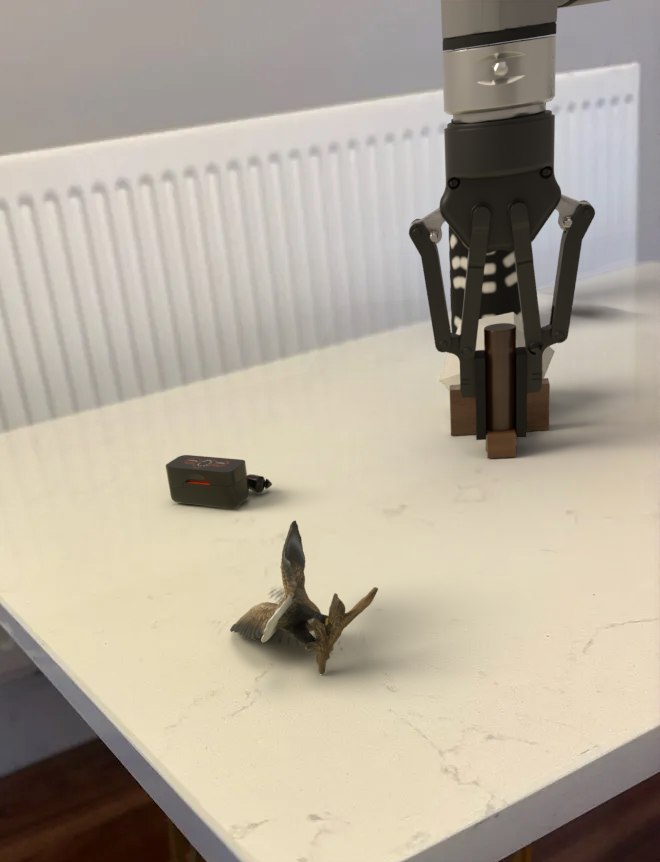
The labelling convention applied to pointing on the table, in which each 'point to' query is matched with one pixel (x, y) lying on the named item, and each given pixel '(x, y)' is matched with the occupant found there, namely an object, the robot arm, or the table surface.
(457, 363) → the die
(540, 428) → the wooden block stack
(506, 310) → the spotted tube
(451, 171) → the robot arm
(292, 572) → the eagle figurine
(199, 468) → the wireless earbuds
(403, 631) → the table surface
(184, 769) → the table surface
